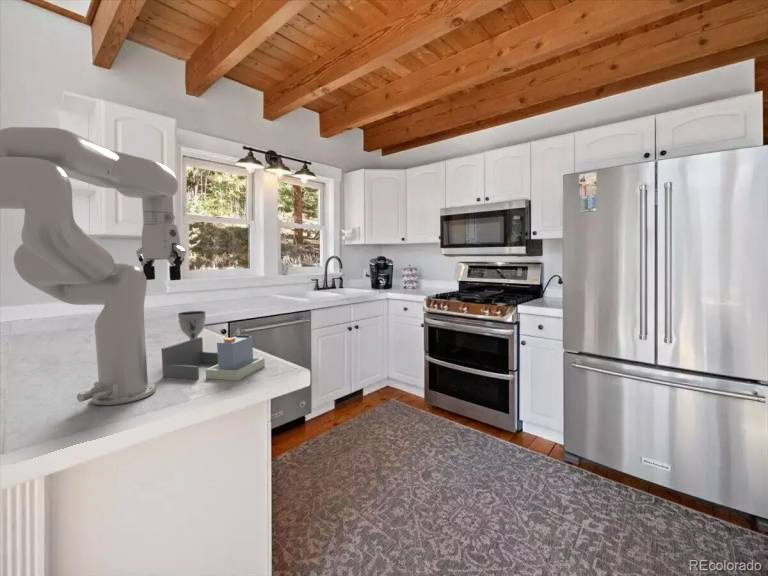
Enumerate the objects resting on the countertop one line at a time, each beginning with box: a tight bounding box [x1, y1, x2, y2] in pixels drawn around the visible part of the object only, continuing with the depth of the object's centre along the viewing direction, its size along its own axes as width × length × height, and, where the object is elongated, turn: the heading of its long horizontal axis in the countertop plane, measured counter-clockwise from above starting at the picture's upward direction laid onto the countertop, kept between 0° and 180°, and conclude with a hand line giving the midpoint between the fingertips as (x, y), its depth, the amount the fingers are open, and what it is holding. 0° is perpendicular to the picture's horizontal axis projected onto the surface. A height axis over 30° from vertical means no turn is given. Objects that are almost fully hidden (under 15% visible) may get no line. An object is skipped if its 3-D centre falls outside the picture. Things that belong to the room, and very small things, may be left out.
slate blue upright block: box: [216, 333, 254, 370], centre depth 105 cm, size 5×9×10 cm, turn 166°
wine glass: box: [177, 310, 206, 340], centre depth 121 cm, size 8×8×15 cm
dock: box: [161, 337, 218, 380], centre depth 107 cm, size 15×11×8 cm
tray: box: [205, 356, 266, 382], centre depth 106 cm, size 14×10×2 cm
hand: (162, 279), depth 105 cm, fingers open, 9 cm apart
